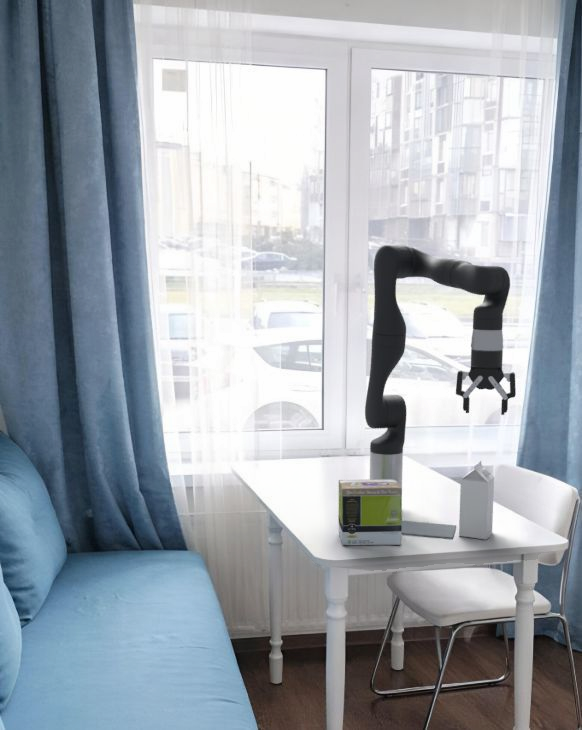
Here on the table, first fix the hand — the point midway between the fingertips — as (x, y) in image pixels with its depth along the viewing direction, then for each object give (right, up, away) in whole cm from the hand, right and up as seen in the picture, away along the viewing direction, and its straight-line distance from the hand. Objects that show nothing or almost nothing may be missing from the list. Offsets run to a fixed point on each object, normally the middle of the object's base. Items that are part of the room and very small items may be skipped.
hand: (484, 413), depth 204 cm
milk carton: (0, -32, +11) cm, 34 cm away
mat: (-14, -32, +15) cm, 38 cm away
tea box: (-28, -33, +6) cm, 43 cm away
